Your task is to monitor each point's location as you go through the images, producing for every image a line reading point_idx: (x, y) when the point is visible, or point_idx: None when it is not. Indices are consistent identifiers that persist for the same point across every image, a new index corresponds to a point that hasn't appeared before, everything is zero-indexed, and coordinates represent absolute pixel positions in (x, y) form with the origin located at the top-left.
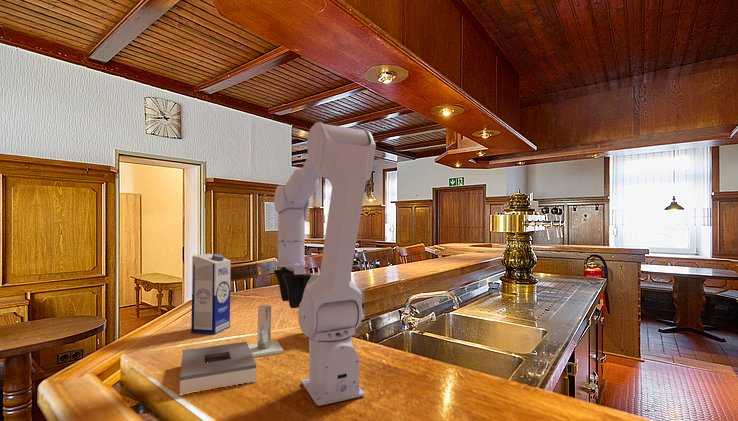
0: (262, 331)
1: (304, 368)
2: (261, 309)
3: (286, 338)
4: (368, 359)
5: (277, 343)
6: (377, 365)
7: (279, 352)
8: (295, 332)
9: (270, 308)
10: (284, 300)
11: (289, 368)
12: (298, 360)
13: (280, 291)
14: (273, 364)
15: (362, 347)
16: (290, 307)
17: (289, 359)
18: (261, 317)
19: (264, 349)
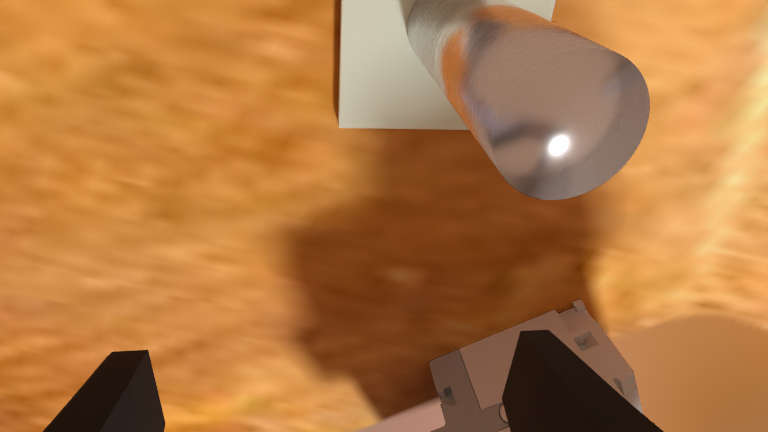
0: (441, 30)
1: (41, 165)
2: (517, 70)
3: None
4: None
5: None
6: (7, 423)
7: (338, 100)
8: (626, 249)
9: (504, 174)
10: (518, 348)
11: (61, 93)
12: (179, 166)
13: (615, 401)
14: (159, 20)
15: (247, 428)
16: (134, 353)
17: (213, 126)
18: (483, 48)
19: (406, 20)
